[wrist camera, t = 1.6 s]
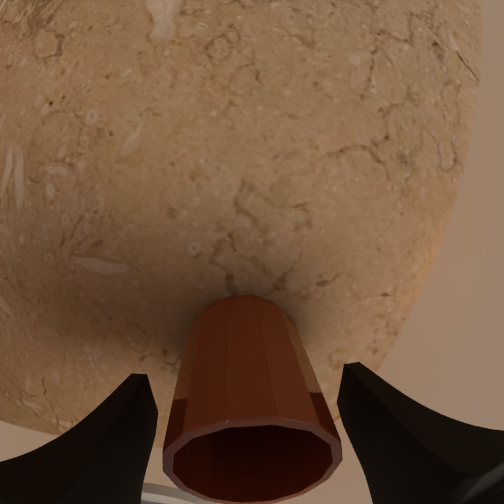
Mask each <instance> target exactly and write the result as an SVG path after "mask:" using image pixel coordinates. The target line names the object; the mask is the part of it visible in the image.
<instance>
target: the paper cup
mask: <svg viewBox="0 0 504 504" xmlns="http://www.w3.org/2000/svg"><path fill="white" fill-rule="evenodd" d="M341 461H342V447H341V440H340V437H339V434H338V432H337V430H336V427H335V424H334V421H333V419H332V416H331V414H330V411H329V409H328V406H327V404H326V401H325V399H324V396H323V393H322V391H321V388H320V386H319V383H318V381H317V378H316V376H315V373H314V371H313V368H312V366H311V363H310V361H309V358H308V356H307V353H306V351H305V348H304V346H303V343H302V341H301V338H300V336H299V333H298V331H297V328H296V326H295V324H294V323H293V322H292V320H291V319H290V317H289V316H288V315H287V313H286V312H285V311H283V310H282V309H281V308H280V307H279V306H277V305H276V304H274V303H272V302H270V301H268V300H265V299H262V298H258V297H252V296H234V297H229V298H225V299H222V300H219V301H217V302H215V303H213V304H211V305H210V306H208V307H207V308H205V309H204V310H203V311H202V312H201V313H200V314H199V315H198V316H197V317H196V319H195V321H194V322H193V324H192V326H191V328H190V330H189V332H188V336H187V340H186V345H185V349H184V353H183V357H182V362H181V366H180V370H179V375H178V379H177V384H176V388H175V393H174V397H173V402H172V407H171V411H170V416H169V421H168V426H167V431H166V436H165V441H164V446H163V471H164V473H165V474H166V475H167V476H168V477H169V478H170V479H171V481H172V482H173V483H174V484H175V485H176V486H177V487H178V488H180V489H181V490H183V491H185V492H188V493H190V494H192V495H194V496H196V497H199V498H201V499H203V500H206V501H211V502H217V503H223V504H271V503H276V502H279V501H283V500H287V499H290V498H293V497H296V496H300V495H302V494H305V493H307V492H308V491H310V490H312V489H313V488H315V487H317V486H318V485H320V484H322V483H323V482H325V481H326V480H327V479H329V478H330V476H331V475H332V474H333V472H334V471H335V470H336V468H337V467H338V466H339V464H340V463H341Z"/></svg>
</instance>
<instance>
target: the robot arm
mask: <svg viewBox="0 0 504 504" xmlns="http://www.w3.org/2000/svg"><path fill="white" fill-rule="evenodd" d="M337 405H338V409H339V413H340V416H341V420H342V423H343V426H344V428H345V430H346V432H347V435H348V437H349V439H350V442H351V444H352V446H353V448H354V450H355V453H356V455H357V457H358V459H359V462H360V464H361V466H362V468H363V471H364V474H365V476H366V480H367V483H368V487H369V490H370V494H371V498H372V502H373V504H504V431H501V430H493V429H488V428H483V427H478V426H474V425H470V424H466V423H463V422H460V421H457V420H455V419H452V418H449V417H447V416H444V415H441V414H440V413H438V412H435V411H433V410H431V409H429V408H427V407H425V406H423V405H421V404H420V403H418V402H416V401H415V400H413V399H411V398H409V397H408V396H406V395H405V394H403V393H402V392H400V391H399V390H397V389H396V388H394V387H393V386H391V385H390V384H389V383H387V382H386V381H384V380H383V379H382V378H380V377H379V376H378V375H376V374H375V373H374V372H372V371H371V370H370V369H368V368H367V367H366V366H364V365H363V364H361V363H360V362H356V363H349V364H344V368H343V374H342V379H341V384H340V389H339V394H338V399H337ZM157 418H158V410H157V407H156V404H155V400H154V397H153V394H152V390H151V387H150V383H149V380H148V376H147V374H133V373H132V374H131V375H130V376H129V377H128V378H127V379H126V380H125V381H124V382H123V383H122V384H121V385H120V386H119V387H118V388H117V389H116V390H115V391H114V392H113V393H112V394H111V395H110V396H108V397H107V398H106V399H105V400H104V401H103V402H102V403H101V404H100V405H99V406H98V407H97V408H96V409H95V410H93V411H92V412H91V413H90V414H89V415H88V416H86V417H85V418H84V419H83V420H82V421H80V422H79V423H78V424H77V425H75V426H74V427H73V428H71V429H70V430H68V431H67V432H65V433H64V434H62V435H61V436H59V437H58V438H56V439H54V440H52V441H50V442H49V443H47V444H45V445H43V446H41V447H39V448H37V449H35V450H33V451H31V452H28V453H26V454H23V455H21V456H18V457H15V458H12V459H9V460H5V461H2V462H0V504H163V503H155V502H147V501H141V493H142V486H143V481H144V477H145V473H146V468H147V465H148V461H149V457H150V453H151V450H152V446H153V442H154V438H155V434H156V427H157Z"/></svg>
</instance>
